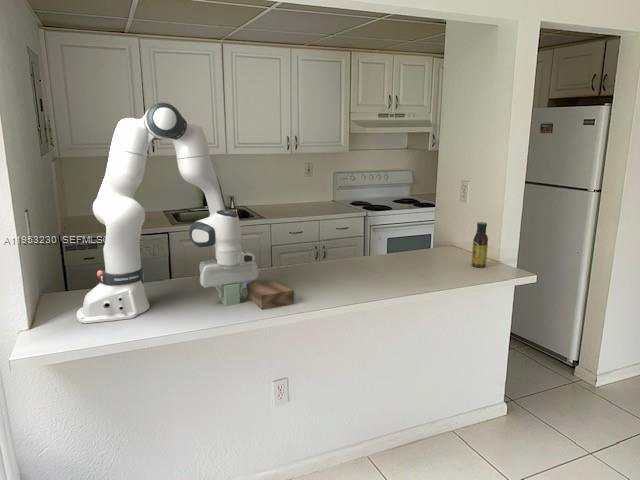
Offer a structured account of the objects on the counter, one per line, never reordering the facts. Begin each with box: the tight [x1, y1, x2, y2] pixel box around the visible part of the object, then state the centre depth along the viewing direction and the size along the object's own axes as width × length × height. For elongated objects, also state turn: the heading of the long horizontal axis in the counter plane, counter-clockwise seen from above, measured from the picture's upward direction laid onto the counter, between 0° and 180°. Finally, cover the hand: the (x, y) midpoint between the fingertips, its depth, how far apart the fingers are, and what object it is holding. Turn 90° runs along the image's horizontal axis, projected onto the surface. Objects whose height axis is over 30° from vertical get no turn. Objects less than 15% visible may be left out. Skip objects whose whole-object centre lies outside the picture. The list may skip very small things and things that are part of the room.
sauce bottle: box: [471, 221, 489, 268], centre depth 210 cm, size 6×6×20 cm
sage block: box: [220, 283, 241, 306], centre depth 167 cm, size 5×5×7 cm
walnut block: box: [246, 278, 295, 310], centre depth 169 cm, size 12×14×5 cm
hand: (230, 295), depth 167 cm, fingers closed on sage block, 5 cm apart
